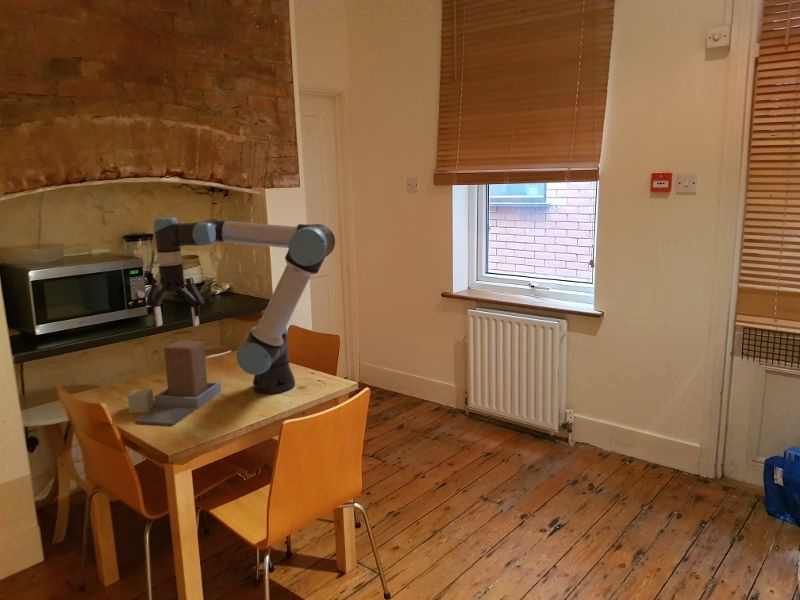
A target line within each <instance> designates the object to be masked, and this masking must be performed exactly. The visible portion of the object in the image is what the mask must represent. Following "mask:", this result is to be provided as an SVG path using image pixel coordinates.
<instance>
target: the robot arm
mask: <svg viewBox="0 0 800 600" xmlns="http://www.w3.org/2000/svg"><path fill="white" fill-rule="evenodd" d="M153 233H154V238H155V246H156V256H157V263H158V265H159V266H158V271H159V276H160V278H159V277H155V278H152V279H151V286H150V287H151V288H150V290H149V292H148V296H147V299H146V302H145V305H146V307H147V306H148V307H151V311H152V316H153V317H154V318H155V325H156V326H155V327H160V326H163V318H162V317H163V315H162V309H161V308H162V307H161V306H159V305H160V303H161V302H162V300H163V298H164V297H165V295H166V294H167V292H168V293H172V292H175V293H176V292H177V293H180V294H181V295H182V296H183V297H184V298H185V299H186V300H187V302H189V303H190V305H192V307H191V316H192V317H191V318H192V325H193V327H197V326H199V325H200V318H199V317H200V316H201V309H200V307H201V305H204V304H205V302H206V301H205V300H204V298H203V296H202V295H201V293H200V291H199V289H198V288H197V286H196V284H195V281H194V278H193V277H192V276H191V277H189V278H185V277H184V267H183V264H182V263H183V258H182V249H181V247H185V246H186V247H187V246H188V247H189V246H191V247H192V246H193V247H194V246H195V247H197V246H198V247H199V246H201V247H204V246H211V245H213V244H214V243H215V242H216V243H217V242H218V243H229V244H240V245H252V246H262V247H274V248H275V247H276V248H284V249H285V248H286V249H288V250H287V252H286V254H285V256H284V260H285V263H286V266H285V268H284V270H283V272H282V274H281V277H280V279H279V281H278V282H277V285H276V287H275V289H274V291H273V293H272V295H271V297H270V300H269V302H268V304H267V306H266V308H265V309H264V312H263V314H262V316H261V319H260V321H259V323H258V325H256V326H253V327H251V329H250V331H249V334H248V335H247V337H246V338H245V339H246V340H245V342H244V343H242V344H241V345H240V346H239V348H238V349H237V352H236V361H237V364H238V366H239V367H240V369H242V371H243V372H245V373H247V374H250V375H253V376H254V377H253V381H252V390H253V391H255V392H258V393H261V394H279V393H284V392H287V391H290V390H292V389H294V387H295V386H296V379H295V376H294V373H293V372H292V369H291V366H290V359H289V342H288V341H289V340H288V337H289V335H288V330H287V326H288V324H289V322H290V320H291V317H292V316H293V314H294V312H295V309H296V308H297V305H298V303H299V301H300V299H301V297H302V295H303V293H304V292H305V289H306V287H307V285H308V283H309V280H310V279H311V277H312V276H315V275H316V274H318V273H319V271H320V268H321V267H322V264H323V262H324V260H325V259H326V257H328V256H329V255H331V254H332V252H333V251H334V248H335V246H336V238H335V234H334V232H333V231H332V230H331V229H330V228H329V227H328V226H326V225H324V224H320V223H313V224H303V223H301V224H300V223H299V224H297V225H296V226H292V225H291V226H290V225H279V224H278V225H277V224H269V223H267V224H266V223H256V222H242V221H234V220H233V221H232V220H231V221H230V220H221V219H219V218H210V219H206V220H201V221H196V222H185V223H179V221H178V219H177V217H175V216H174V217H158V218H155V219H154V220H153ZM159 285H161V288H160V290H159V287H160V286H159ZM185 285H187V286H185ZM188 289H189V290H188ZM158 290H159V292H158ZM157 292H158V293H157Z"/></svg>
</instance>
